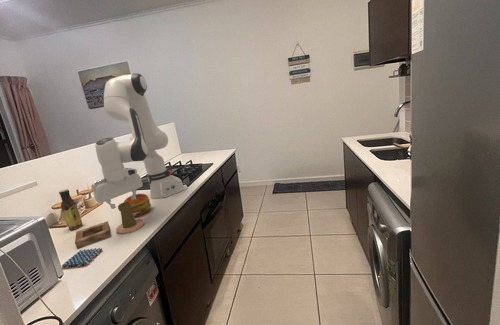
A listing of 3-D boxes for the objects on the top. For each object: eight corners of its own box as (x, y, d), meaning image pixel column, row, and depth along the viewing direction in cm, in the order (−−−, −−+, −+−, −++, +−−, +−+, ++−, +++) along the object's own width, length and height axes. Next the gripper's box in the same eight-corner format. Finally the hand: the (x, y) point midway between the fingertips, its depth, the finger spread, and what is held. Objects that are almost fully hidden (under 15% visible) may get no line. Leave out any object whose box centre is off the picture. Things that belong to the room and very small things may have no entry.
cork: (121, 229, 117) (114, 207, 114) (124, 223, 123) (118, 202, 120) (135, 226, 118) (128, 204, 115) (138, 220, 124) (131, 199, 121)
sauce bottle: (79, 228, 129) (66, 191, 124) (66, 231, 128) (52, 194, 124) (85, 223, 135) (73, 187, 131) (73, 225, 135) (59, 190, 130)
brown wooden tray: (109, 226, 126) (107, 221, 125) (111, 236, 115) (109, 230, 114) (78, 237, 119) (76, 231, 119) (77, 248, 108) (74, 242, 108)
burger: (148, 216, 131) (142, 197, 128) (121, 221, 130) (115, 202, 128) (155, 205, 144) (150, 188, 142) (131, 210, 144) (126, 193, 141)
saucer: (142, 218, 129) (141, 216, 128) (146, 226, 119) (145, 224, 118) (115, 227, 123) (115, 225, 123) (118, 237, 113) (117, 234, 113)
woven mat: (60, 271, 95) (58, 266, 94) (80, 254, 105) (79, 249, 104) (87, 268, 94) (85, 263, 93) (104, 251, 104) (103, 246, 103)
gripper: (92, 184, 105) (103, 215, 108) (139, 168, 120) (147, 196, 123) (87, 182, 109) (97, 212, 112) (133, 167, 124) (141, 194, 127)
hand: (124, 203), depth 118 cm, fingers open, 8 cm apart
